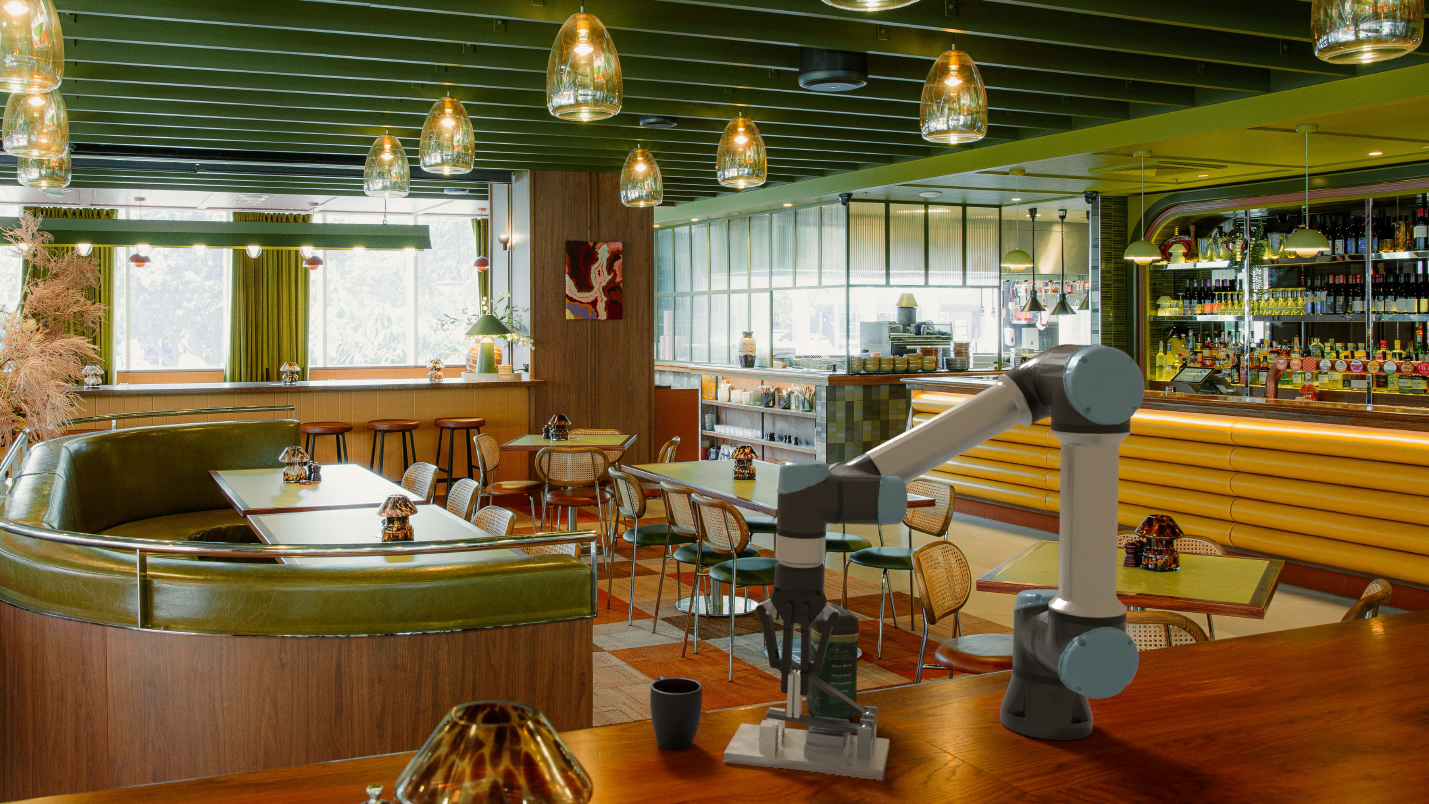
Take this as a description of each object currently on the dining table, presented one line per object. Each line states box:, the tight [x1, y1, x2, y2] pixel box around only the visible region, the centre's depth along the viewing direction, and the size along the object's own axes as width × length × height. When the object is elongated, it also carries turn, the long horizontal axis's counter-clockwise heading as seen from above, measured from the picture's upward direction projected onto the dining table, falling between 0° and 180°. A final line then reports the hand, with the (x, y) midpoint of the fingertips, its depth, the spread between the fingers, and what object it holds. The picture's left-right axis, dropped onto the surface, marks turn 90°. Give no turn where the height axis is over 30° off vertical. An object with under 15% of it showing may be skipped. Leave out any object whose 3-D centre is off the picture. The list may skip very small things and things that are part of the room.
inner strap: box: [791, 659, 875, 718], centre depth 171 cm, size 16×2×2 cm
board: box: [723, 705, 890, 781], centre depth 169 cm, size 24×13×7 cm, turn 77°
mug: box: [649, 675, 703, 752], centre depth 174 cm, size 8×12×10 cm
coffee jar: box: [805, 603, 860, 720], centre depth 188 cm, size 10×8×19 cm
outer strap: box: [766, 709, 872, 734], centre depth 166 cm, size 16×2×2 cm, turn 77°
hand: (794, 714), depth 167 cm, fingers closed, pressing on outer strap
